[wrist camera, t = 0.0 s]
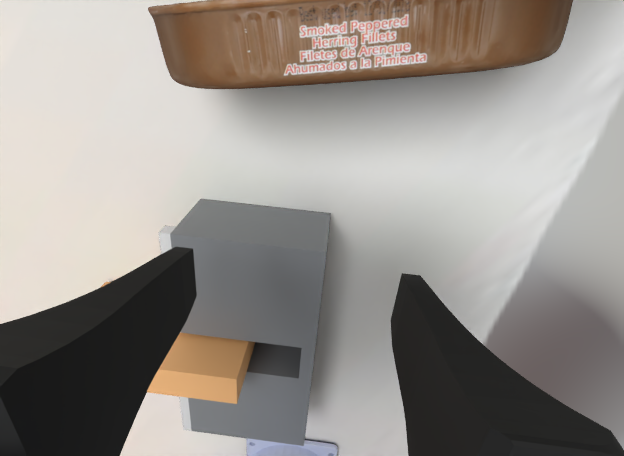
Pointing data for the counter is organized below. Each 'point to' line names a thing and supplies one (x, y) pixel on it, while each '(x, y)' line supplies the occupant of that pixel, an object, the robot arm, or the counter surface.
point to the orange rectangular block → (203, 368)
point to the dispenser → (256, 310)
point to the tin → (351, 39)
